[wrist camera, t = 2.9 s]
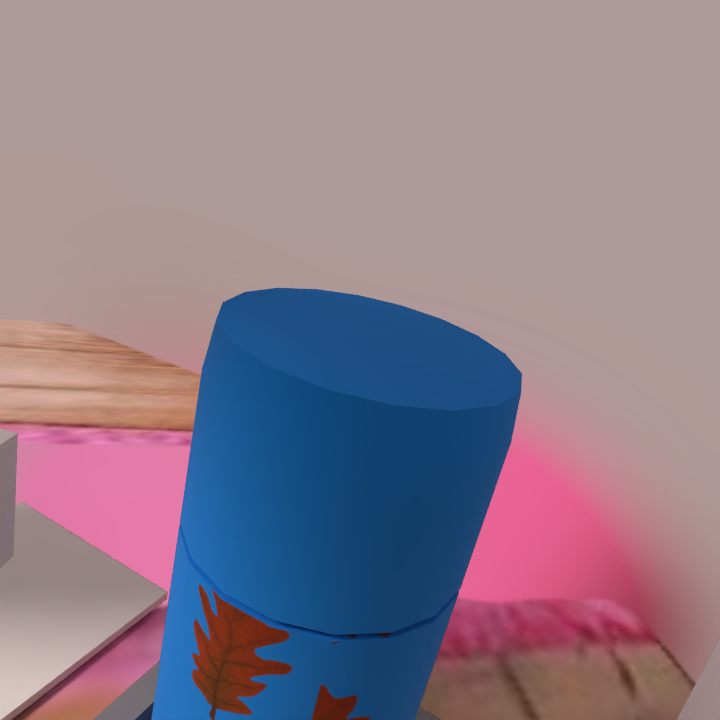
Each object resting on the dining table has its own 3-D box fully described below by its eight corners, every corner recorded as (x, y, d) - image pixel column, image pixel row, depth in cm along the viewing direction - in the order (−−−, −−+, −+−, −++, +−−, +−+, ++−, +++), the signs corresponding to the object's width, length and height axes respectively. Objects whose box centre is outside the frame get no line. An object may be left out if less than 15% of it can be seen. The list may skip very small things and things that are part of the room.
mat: (-168, 598, 36) (-168, 589, 36) (22, 508, 47) (22, 502, 46) (-6, 733, 31) (-6, 724, 31) (166, 599, 42) (167, 591, 41)
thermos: (252, 685, 37) (341, 278, 28) (405, 814, 32) (569, 367, 23) (83, 830, 28) (137, 302, 20) (257, 1039, 23) (433, 455, 15)
